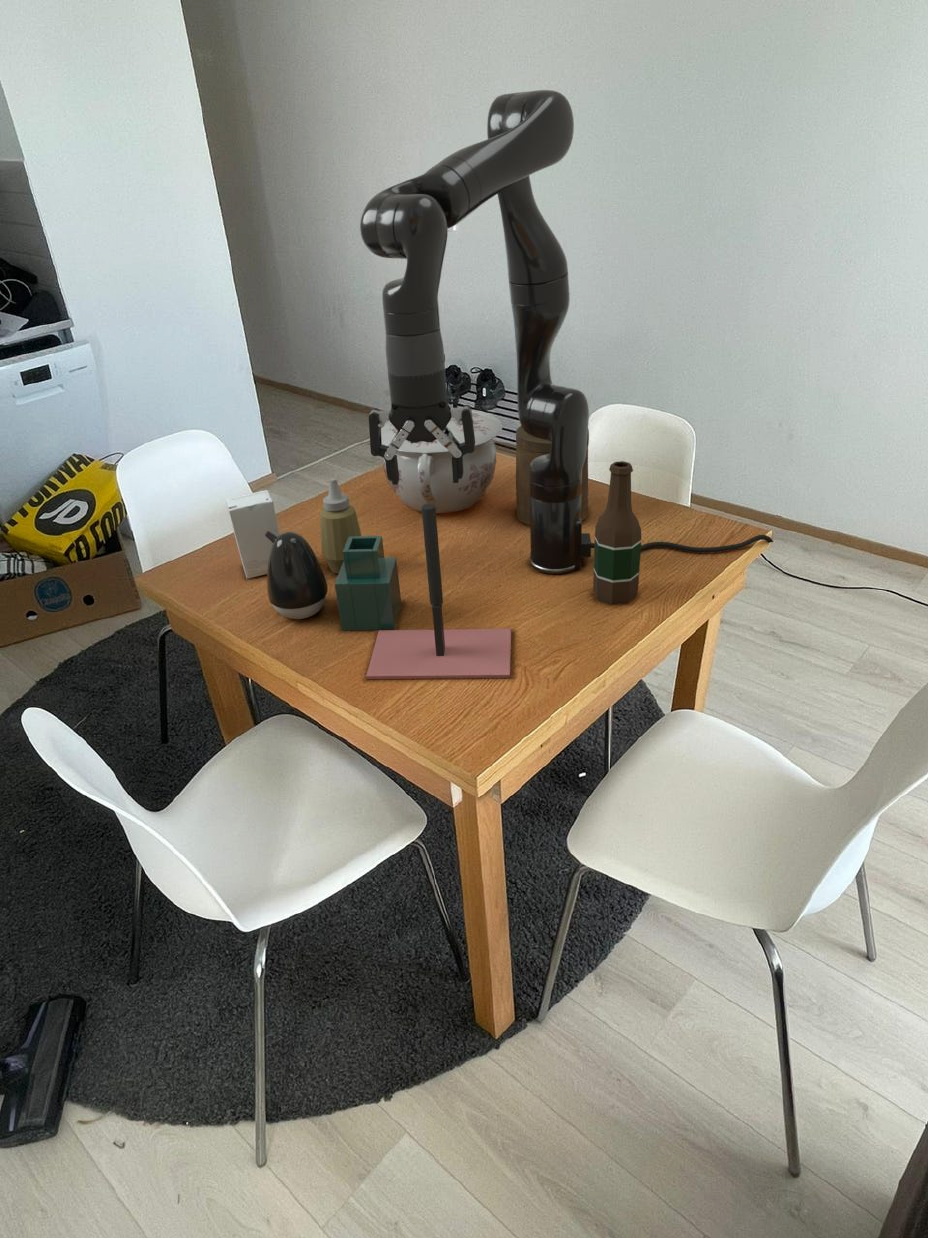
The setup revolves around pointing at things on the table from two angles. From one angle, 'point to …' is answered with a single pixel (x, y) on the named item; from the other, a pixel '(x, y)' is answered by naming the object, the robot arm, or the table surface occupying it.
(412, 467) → the chamber pot
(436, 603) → the stepped grey rod
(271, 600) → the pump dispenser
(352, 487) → the table surface
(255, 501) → the cosmetic box
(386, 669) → the place mat
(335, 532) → the squeeze bottle
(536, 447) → the wooden container
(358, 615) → the green square vase
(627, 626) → the table surface
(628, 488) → the beer bottle
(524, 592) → the table surface
